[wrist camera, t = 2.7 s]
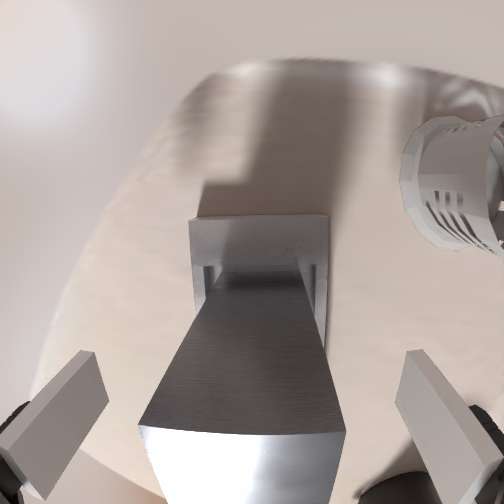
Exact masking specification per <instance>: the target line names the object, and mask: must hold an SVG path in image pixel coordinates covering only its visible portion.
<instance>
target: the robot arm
mask: <svg viewBox="0 0 504 504" xmlns="http://www.w3.org/2000/svg"><path fill="white" fill-rule="evenodd" d="M108 402H109V399H108V396H107V393H106V390H105V387H104V383H103V380H102V377H101V374H100V370H99V367H98V363H97V360H96V356H95V353H94V352H89V351H82V350H81V351H79V352H78V353H77V354H76V355H75V356H74V357H73V358H72V359H71V360H70V361H69V362H68V363H67V365H66V366H65V367H64V368H63V369H62V370H61V371H60V372H59V373H58V374H57V375H56V376H55V377H54V378H53V379H52V380H51V381H50V382H49V383H48V384H47V385H46V386H45V387H44V388H43V389H42V390H41V391H40V392H39V393H38V394H37V395H36V396H35V397H34V399H33V400H32V401H31V402H30V401H28V402H26V403H24V404H23V405H21V406H19V407H18V408H17V409H16V410H15V411H14V412H13V413H12V416H9V417H8V419H7V420H6V422H4V423H3V424H2V425H1V426H0V504H24V500H23V495H22V493H21V491H20V490H19V489H20V487H21V486H22V485H23V486H24V487H25V489H26V490H27V491H28V492H29V494H31V495H33V496H35V497H37V498H39V499H41V500H43V501H46V499H47V497H48V496H49V494H50V492H51V491H52V489H53V488H54V486H55V484H56V483H57V481H58V480H59V478H60V476H61V475H62V473H63V472H64V470H65V468H66V467H67V465H68V464H69V462H70V460H71V459H72V457H73V456H74V454H75V453H76V451H77V449H78V448H79V446H80V445H81V443H82V442H83V440H84V439H85V437H86V436H87V434H88V433H89V431H90V429H91V428H92V426H93V425H94V423H95V422H96V420H97V419H98V417H99V416H100V414H101V413H102V411H103V410H104V408H105V407H106V405H107V404H108ZM395 404H396V406H397V408H398V410H399V412H400V414H401V416H402V418H403V420H404V422H405V424H406V426H407V428H408V430H409V432H410V434H411V436H412V438H413V440H414V442H415V444H416V447H417V449H418V451H419V453H420V455H421V457H422V459H423V461H424V464H425V466H426V468H427V470H428V472H429V474H430V477H431V479H432V481H433V483H434V486H435V488H436V490H437V492H438V495H439V497H440V499H441V501H442V504H471V503H472V502H473V500H474V499H475V501H476V503H477V504H504V434H503V433H502V431H501V430H500V429H498V426H497V425H496V424H495V422H493V420H492V418H491V417H490V416H489V415H488V413H487V412H486V411H485V410H483V409H482V408H480V407H478V406H477V405H472V406H469V407H468V406H467V405H466V403H465V402H464V401H463V399H462V398H461V397H460V396H459V394H458V393H457V392H456V390H455V389H454V388H453V387H452V385H451V384H450V383H449V381H448V380H447V379H446V378H445V376H444V375H443V374H442V373H441V371H440V370H439V369H438V368H437V366H436V365H435V364H434V363H433V361H432V360H431V359H430V358H429V356H428V355H427V354H426V353H425V352H424V350H423V349H421V350H414V351H407V353H406V358H405V363H404V367H403V372H402V376H401V381H400V385H399V389H398V393H397V397H396V400H395Z"/></svg>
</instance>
